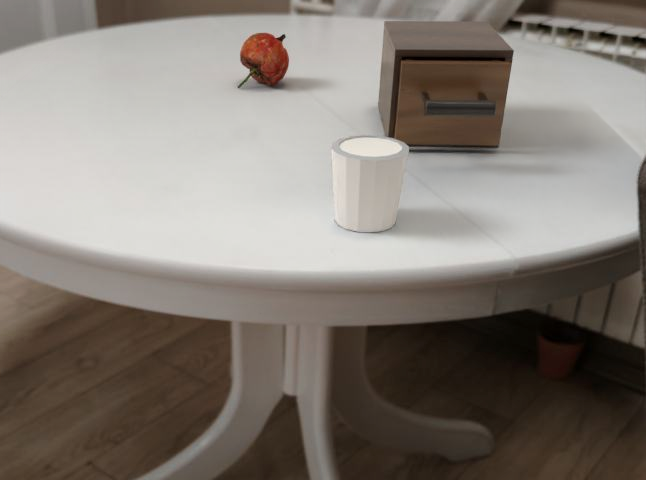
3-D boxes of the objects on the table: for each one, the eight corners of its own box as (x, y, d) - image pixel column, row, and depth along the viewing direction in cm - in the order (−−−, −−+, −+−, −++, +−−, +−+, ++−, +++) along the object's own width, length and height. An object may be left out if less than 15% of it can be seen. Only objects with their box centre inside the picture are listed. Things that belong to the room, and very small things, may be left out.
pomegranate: (261, 110, 112) (313, 59, 111) (228, 69, 108) (281, 16, 108) (244, 102, 118) (292, 53, 118) (212, 63, 114) (262, 13, 114)
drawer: (508, 163, 85) (523, 77, 80) (399, 161, 85) (407, 76, 80) (476, 108, 101) (486, 34, 97) (385, 107, 102) (390, 34, 97)
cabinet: (498, 147, 92) (514, 50, 86) (387, 145, 92) (395, 49, 86) (475, 107, 105) (487, 21, 99) (377, 106, 105) (384, 20, 100)
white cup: (417, 218, 75) (425, 145, 71) (373, 242, 70) (379, 165, 67) (357, 199, 79) (362, 128, 75) (312, 220, 74) (315, 146, 71)
